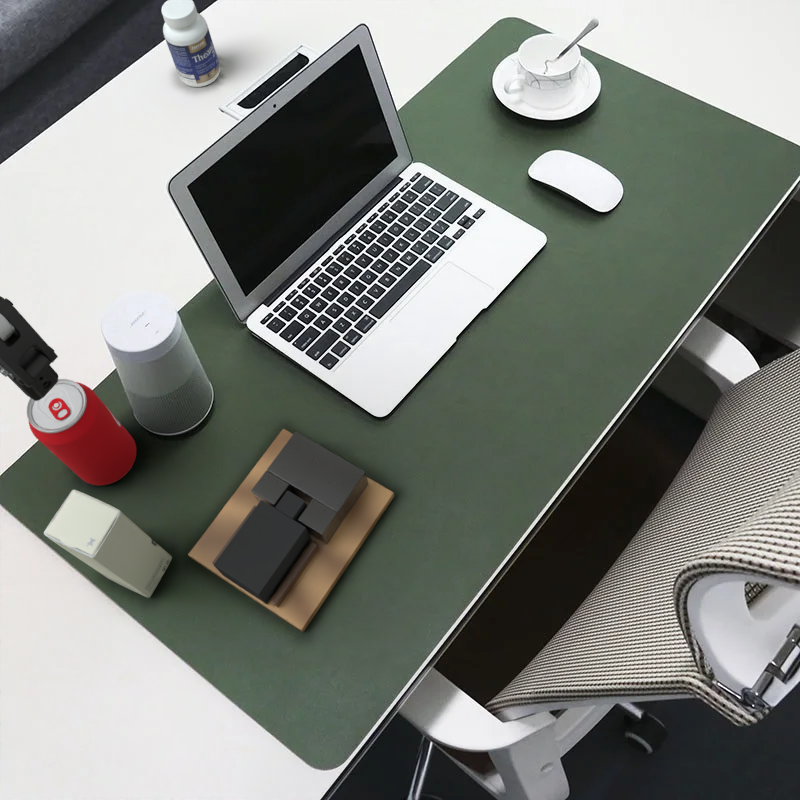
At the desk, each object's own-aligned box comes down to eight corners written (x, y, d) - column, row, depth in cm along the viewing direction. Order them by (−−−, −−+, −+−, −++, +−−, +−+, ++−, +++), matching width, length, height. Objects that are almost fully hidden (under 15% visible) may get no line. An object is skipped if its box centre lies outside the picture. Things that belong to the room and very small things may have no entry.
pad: (266, 604, 74) (258, 594, 71) (223, 575, 76) (213, 564, 73) (324, 521, 77) (318, 509, 74) (281, 495, 79) (274, 481, 76)
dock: (303, 632, 74) (295, 622, 70) (190, 557, 78) (177, 544, 74) (394, 496, 79) (391, 480, 76) (284, 432, 83) (277, 414, 79)
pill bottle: (207, 93, 105) (184, 27, 97) (171, 82, 107) (146, 16, 98) (229, 65, 108) (209, -2, 99) (194, 54, 109) (171, -13, 100)
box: (174, 557, 78) (126, 510, 66) (149, 600, 76) (94, 560, 65) (128, 535, 79) (71, 486, 68) (102, 577, 77) (40, 534, 66)
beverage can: (118, 419, 85) (69, 360, 74) (151, 461, 82) (105, 406, 72) (65, 456, 83) (7, 402, 73) (96, 501, 81) (41, 451, 70)
